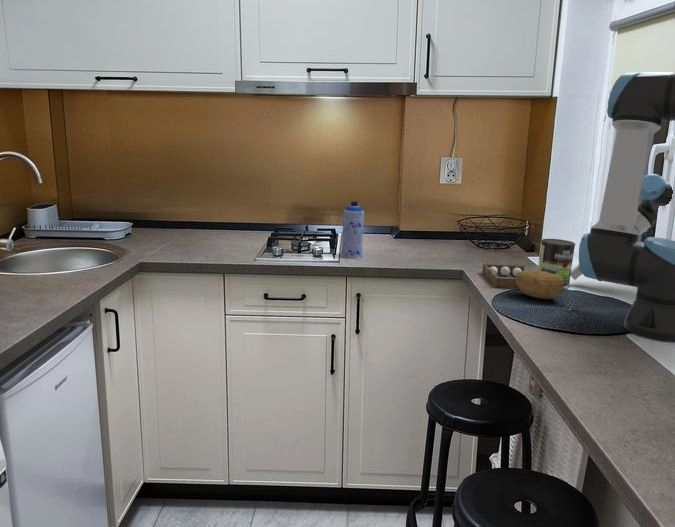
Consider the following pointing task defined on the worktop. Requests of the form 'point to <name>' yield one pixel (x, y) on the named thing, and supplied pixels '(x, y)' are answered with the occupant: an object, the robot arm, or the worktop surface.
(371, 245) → the worktop surface
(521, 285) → the potato
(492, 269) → the pebble
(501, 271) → the pebble
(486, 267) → the tray frame
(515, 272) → the white ball
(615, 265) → the robot arm
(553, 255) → the coffee can
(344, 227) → the aerosol can
